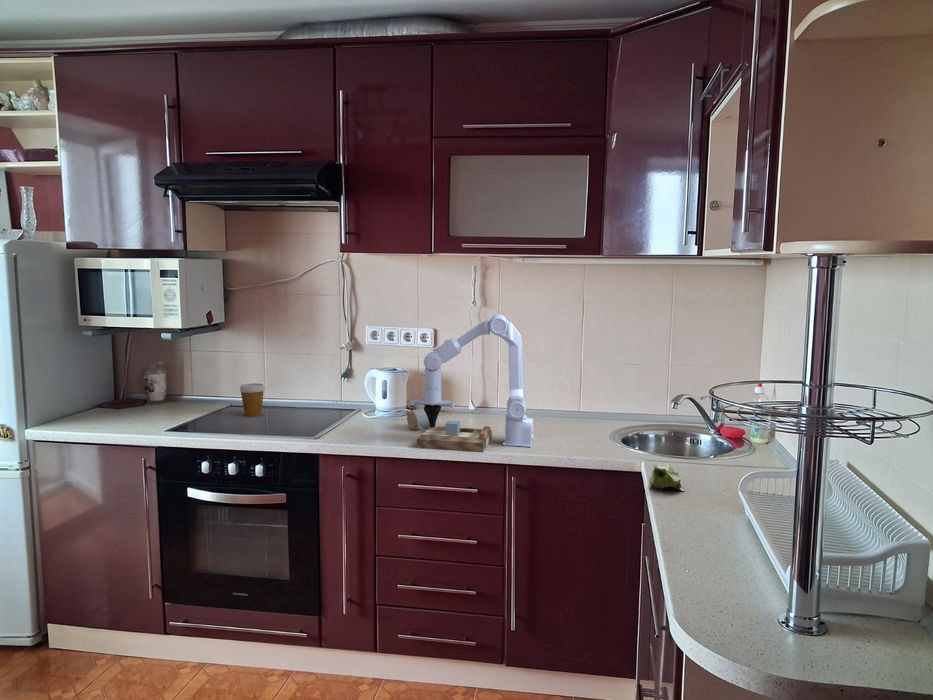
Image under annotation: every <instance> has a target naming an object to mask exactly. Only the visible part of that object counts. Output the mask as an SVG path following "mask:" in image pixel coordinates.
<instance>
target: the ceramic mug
mask: <svg viewBox="0 0 933 700" xmlns="http://www.w3.org/2000/svg"><path fill="white" fill-rule="evenodd" d="M406 420H407V422H406V423H407V426H408V427H409V428H410V429H411V430H415V431H417V430H418V429H419V431H420V432H422V433H424V432H425V431H426V430H427V429H428V428H429V427H430V424H429V420H428V417H427V415H426V413H425V411H424V407H421V408H417V409H413V410H411V411H409V412H408V413H407V417H406ZM425 428H426V429H425Z"/></svg>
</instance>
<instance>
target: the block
mask: <svg viewBox="0 0 933 700" xmlns="http://www.w3.org/2000/svg"><path fill="white" fill-rule="evenodd" d="M445 427H446V435H452V436H458V434H459V433H460V428H461V421H457V420H447V422H446V423H445Z"/></svg>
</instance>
